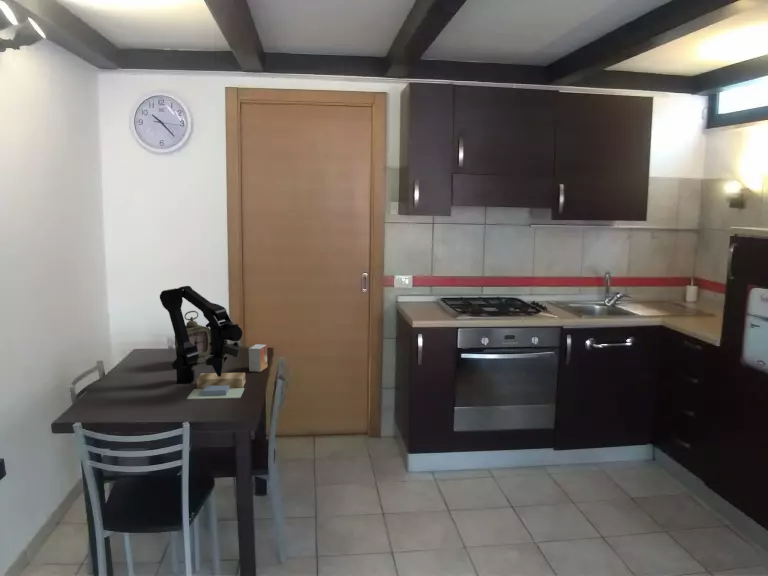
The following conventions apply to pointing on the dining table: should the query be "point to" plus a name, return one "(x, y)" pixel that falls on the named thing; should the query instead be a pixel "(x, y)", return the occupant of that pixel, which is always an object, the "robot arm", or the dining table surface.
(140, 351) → the dining table surface
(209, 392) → the slate blue board
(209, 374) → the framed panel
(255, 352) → the small box
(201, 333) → the tabletop clock
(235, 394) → the mat
